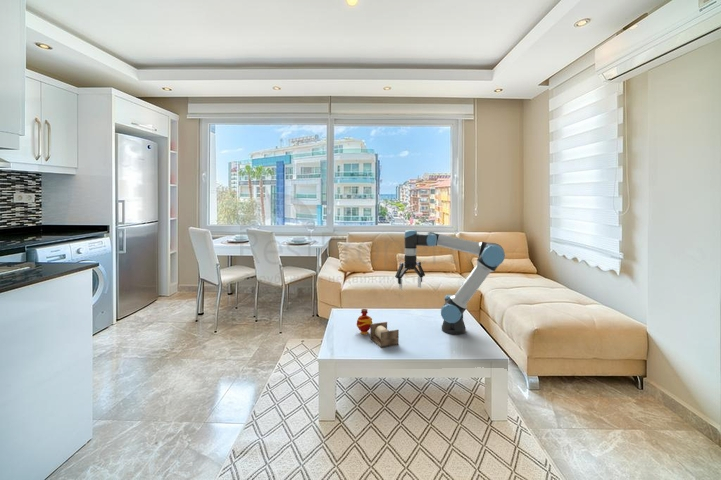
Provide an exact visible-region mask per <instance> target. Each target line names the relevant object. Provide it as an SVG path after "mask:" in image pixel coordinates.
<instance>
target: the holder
mask: <svg viewBox="0 0 721 480" xmlns="http://www.w3.org/2000/svg"><path fill="white" fill-rule="evenodd" d="M378 326H383V327H385V328H386V329H387V330H388V321H382V322H381V321H380V322H375V323H374V322H373V323H372V324H370V329H369V330H370V336H369V338H370V339H371V340H372V341H373V342H374V343H375V344H376V345H378V347H379V348H381V349H384V348H389V347H395V346H399V329H393V330H389V331H385V332H381V339H380V338H378V337H377V336H376V335H375V329H376V327H378Z"/></svg>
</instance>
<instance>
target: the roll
mask: <svg viewBox="0 0 721 480" xmlns="http://www.w3.org/2000/svg"><path fill="white" fill-rule="evenodd" d="M385 331H390V330H389V329H388V328H387V329H386V328H385V327H383V326H378V327H376V329H375V335H376V336H377V337H378V338H380V339H381V332H385Z"/></svg>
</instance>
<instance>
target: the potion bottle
mask: <svg viewBox="0 0 721 480" xmlns="http://www.w3.org/2000/svg"><path fill="white" fill-rule="evenodd" d="M368 313H369V312H368V308H361V312H360V314H361V315H359V316H358V317H357V319H356V327H357V328H358V330H359V331H360V334H361V335H368V334H369V330H370V324H374V322H373V318H372V317H371V316H369V315H368Z"/></svg>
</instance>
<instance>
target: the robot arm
mask: <svg viewBox="0 0 721 480" xmlns="http://www.w3.org/2000/svg"><path fill="white" fill-rule="evenodd" d="M417 246H418V247H420V246H421V247H436V246H437V247H440V248H441V247H442V248H447V249H450V250H455V251H460V252H463V253H469V254H473V255H477V257H478V258H477V259H476V265H475V266H474V268H473V269H472V270H471V272H470V273H469V275H468V276H467V278H465V280H464V282H462V284H461V285H460V287H459V288H458V290H457V291H456V292H455V294H446V295H445V296H444V304H443V306H442V307H441V309H440V316H441V318H442V320H443V322H442V325H441V331H442V332H443V333H445V334H449V335H450V334H451V335H463V334H465V333H466V331H467V329H466V323H465V322H464V313H465V311H466V310H467V309H468V305H467V304H468V303H469V301H470V300H471V299H472V297H473V296H474V295H475V294H476V292H477V290H478V289H479V288H480V287H481V286H482V284H483V283H484V281H485V280H486V279H487V277H488V276H489V275H490V273H493V272H495V271H496V270H497V269H498V267H499V266H500V265H501V264H503V262H504V260H505V258H506V257H505V256H506V254H505V250H504V248H503V247H502V246H501V244H498V243H495V242H487V241H481V242H478V241H473V240H468V239H463V238H459V237H454V236H450V235H444V234H439V233H436V232H434V231H429V232H427V233H418V231H417V230H415V229H407V230H405V231H404V259H403V260H404V262H400V263H399V266H398V269H397V271H396V273H395V276H394V277H395V279H397V284H398V289H399V290H402V291H403V279H402V278H403V277H404V275H405V274H406V272H407V271H408V270H409V271H411V270H414V271H415V273H416V274H417V275H418V276H417V287H418V288H420V289H421V288H422V282H423V278H424V277H425V276H426V274H425V272H424V269H423V267H422V265H421V264H422V263H421V261H417V260H418V259H417V254H418V253H417V251H418V250H417Z"/></svg>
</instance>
